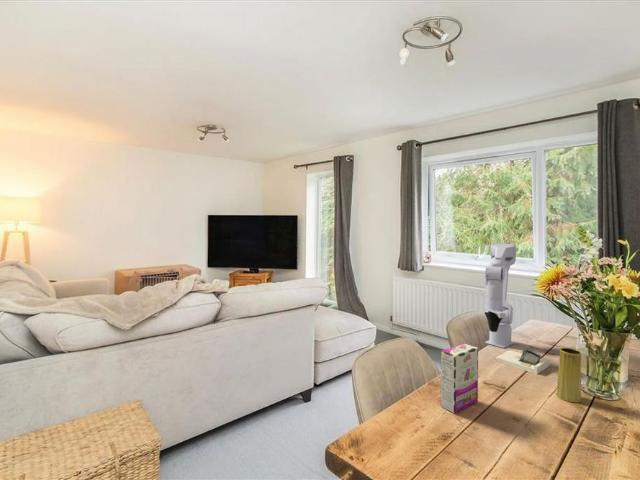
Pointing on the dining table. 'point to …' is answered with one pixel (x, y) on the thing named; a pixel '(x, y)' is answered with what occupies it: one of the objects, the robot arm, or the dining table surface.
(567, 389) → the vase
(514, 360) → the frame
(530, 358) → the clip
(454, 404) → the candy bar box
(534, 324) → the dining table surface
